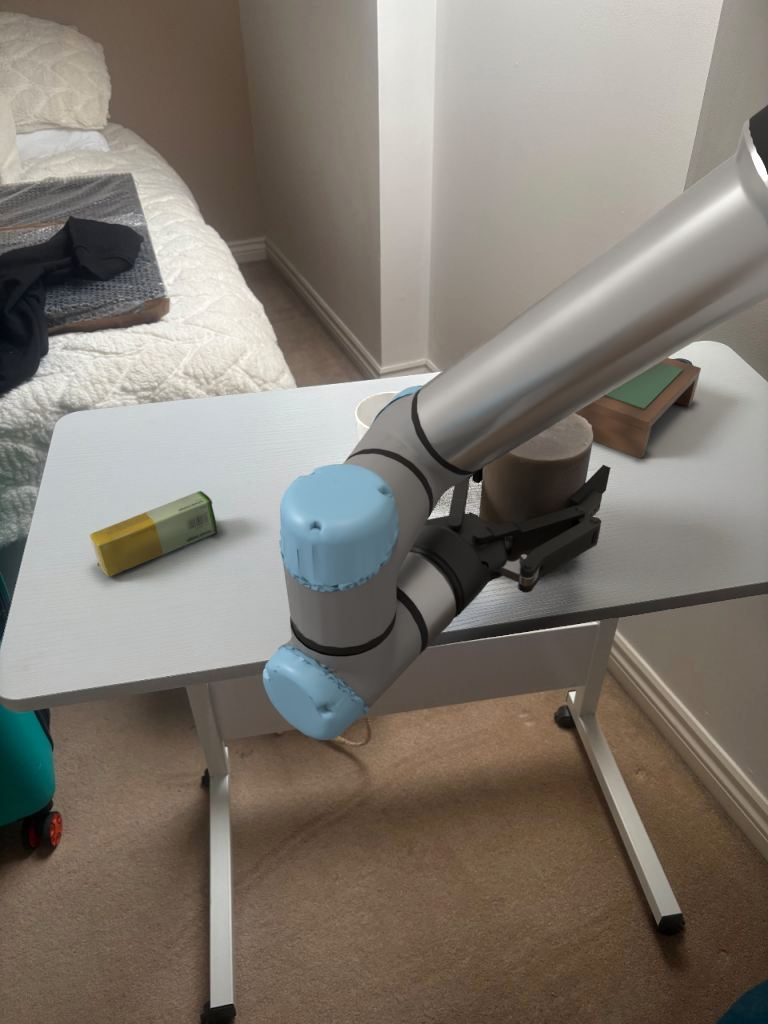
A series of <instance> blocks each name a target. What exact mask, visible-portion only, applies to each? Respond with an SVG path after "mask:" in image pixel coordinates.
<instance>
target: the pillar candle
mask: <svg viewBox="0 0 768 1024" xmlns="http://www.w3.org/2000/svg"><path fill="white" fill-rule="evenodd" d="M593 443H594V441H593V431H592V426H591V425H590V424H589V423H588V421H587V420H586V419H585V418H583V417H581V416H579V415H577V414H575V413H574V414H572V415H570V416H569V417H567V418H565V419H564V420H562V421H560V422H559V423H557V424H555V425H554V426H552V427H550V428H549V429H547V430H545V431H543V432H542V433H540V434H538V435H537V436H535V437H533V438H532V439H530V440H528V441H527V442H525V443H523V444H522V445H520V446H518V447H517V448H515V449H513V450H512V451H510V452H508V453H507V454H505V455H503V456H502V457H500V458H498V459H497V460H495V461H493V462H491V463H490V464H488V465H486V466H485V467H483V476H482V481H481V487H480V488H481V491H480V499H479V500H480V501H479V511H478V512H479V513H478V516H479V517H480V518H481V519H483V520H485V521H489V522H493V523H495V524H497V525H499V524H502V523H506V522H509V521H513V522H514V523H520V522H523V521H526V520H530V519H533V518H536V517H540V516H543V515H546V514H550V513H553V512H556V511H560V510H563V509H566V508H569V502H570V498H571V497H572V496H573V495H574V494H575V493H576V492H577V491H578V490H579V489H580V488H581V487H582V486H583V485H584V484H585V483H586V482H587V479H588V472H589V467H590V466H589V465H590V460H591V455H592V449H593V448H592V447H593ZM534 549H536V548H534ZM534 549H531V550H527V551H524V552H521V553H520V554H519V555H518V556H517V557H516V558H514V559H512V560H509V561H516V560H518V559H519V558H521V555H522V554H526V555H527V556H528V555H529V553H530V552H532V551H533V550H534ZM568 563H569V562H567V563H565V564H564V565H562V566H560V567H559V568H557V569H555V570H554V571H552V572H550V573H549V574H551V573H553V572H556V571H558V570H560V569H561V568H563V567H565V566H566V565H567V564H568Z"/></svg>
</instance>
